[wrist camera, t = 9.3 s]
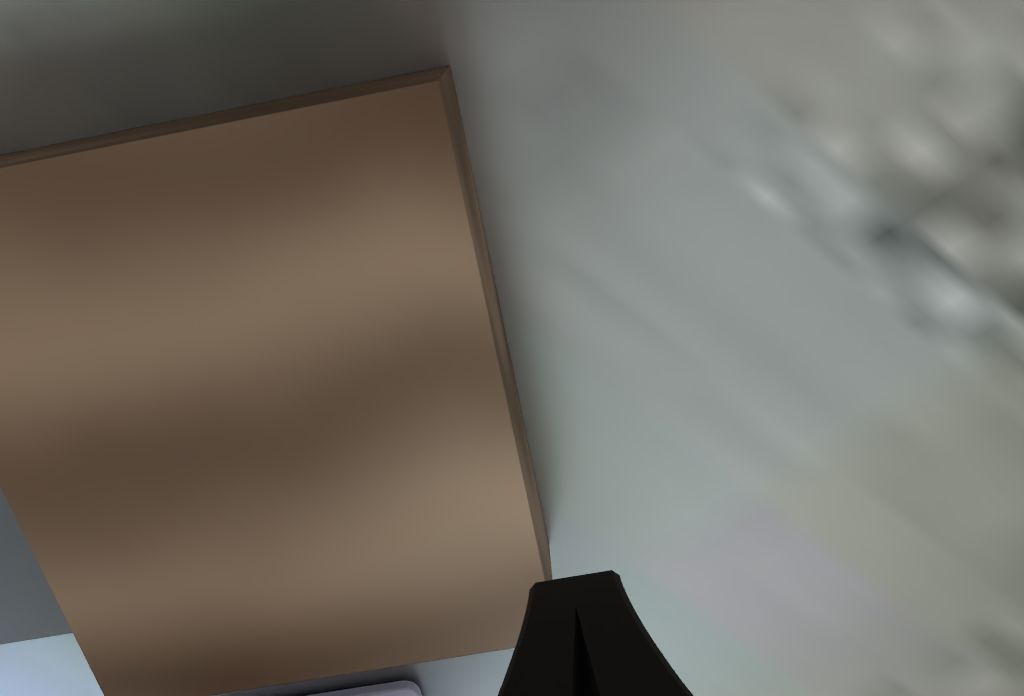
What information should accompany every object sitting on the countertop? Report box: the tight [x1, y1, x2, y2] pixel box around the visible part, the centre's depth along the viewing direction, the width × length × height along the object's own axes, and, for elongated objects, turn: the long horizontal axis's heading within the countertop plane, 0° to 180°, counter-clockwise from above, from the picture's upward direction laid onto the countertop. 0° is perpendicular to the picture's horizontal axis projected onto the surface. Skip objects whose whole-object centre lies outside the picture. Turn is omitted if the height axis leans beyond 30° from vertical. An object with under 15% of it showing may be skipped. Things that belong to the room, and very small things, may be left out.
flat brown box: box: [0, 65, 552, 696], centre depth 21 cm, size 14×12×4 cm
